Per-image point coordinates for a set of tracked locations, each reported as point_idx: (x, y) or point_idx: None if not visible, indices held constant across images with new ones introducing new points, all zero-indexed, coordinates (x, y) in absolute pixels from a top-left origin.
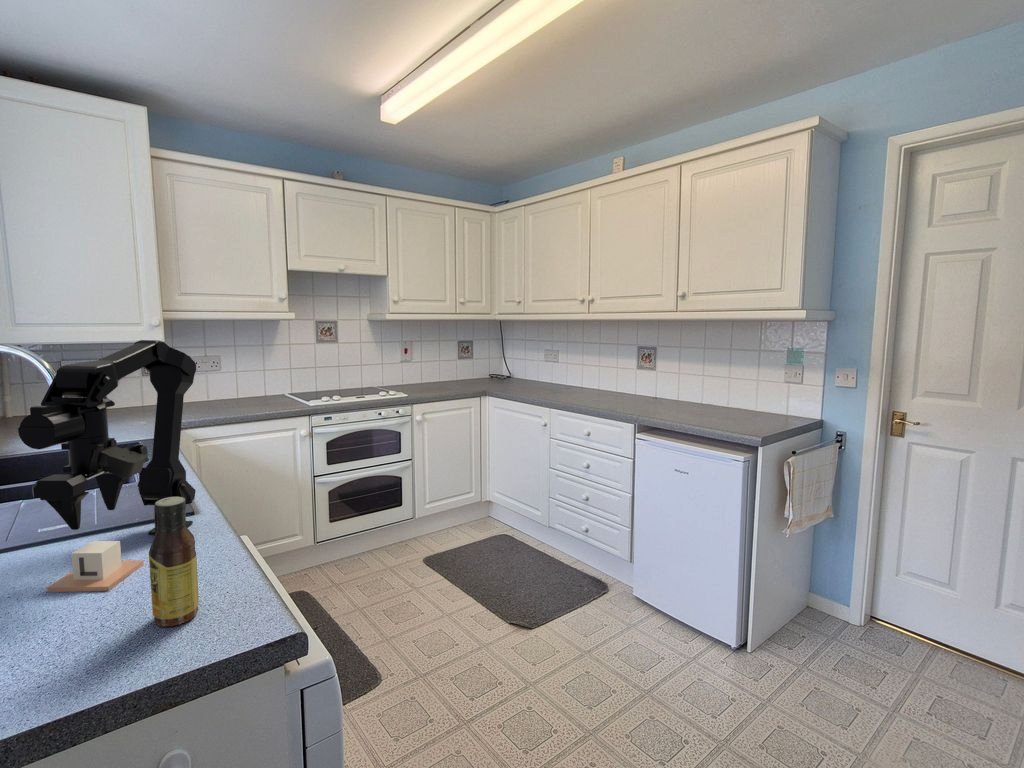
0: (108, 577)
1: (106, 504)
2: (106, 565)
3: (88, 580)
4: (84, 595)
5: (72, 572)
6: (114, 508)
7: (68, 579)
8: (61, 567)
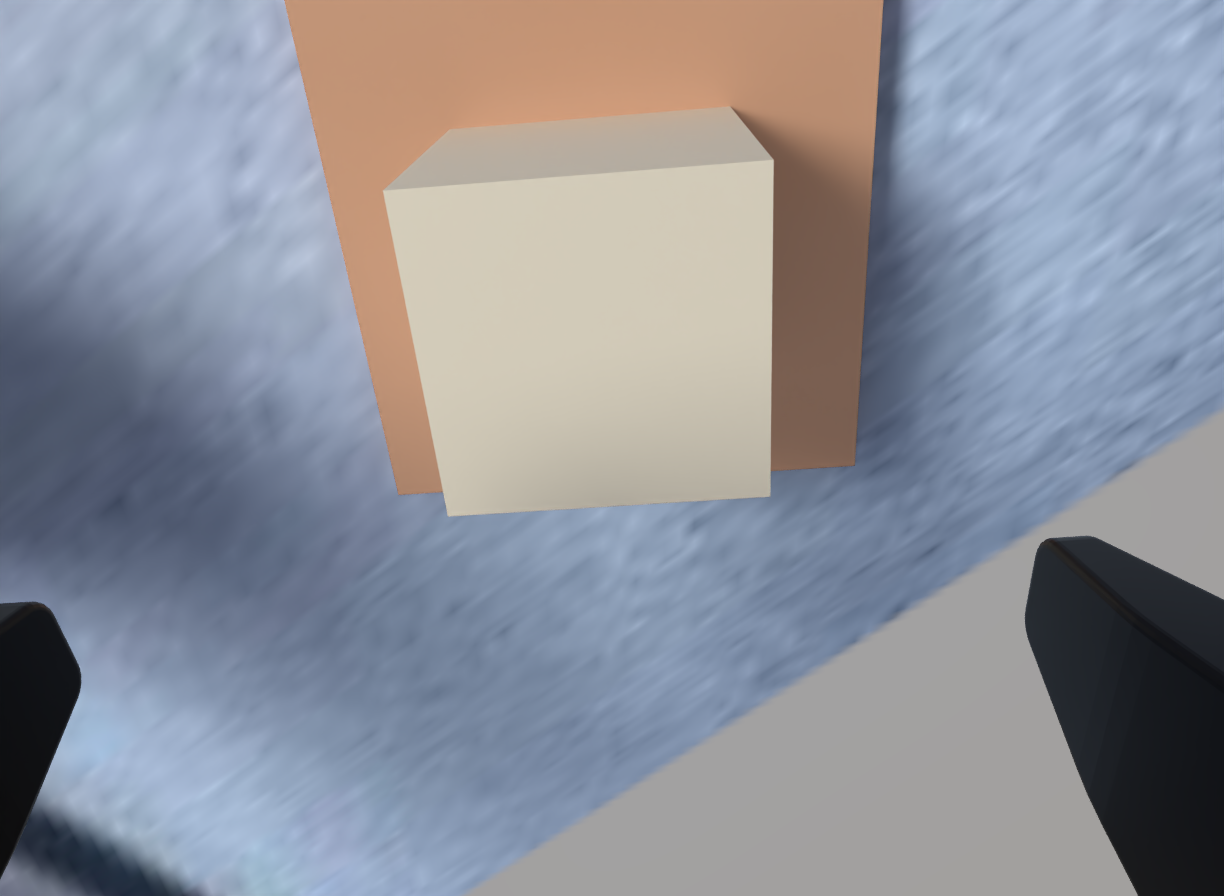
0: (690, 83)
1: (24, 787)
2: (681, 129)
3: None
4: (935, 116)
5: None
6: (5, 607)
7: None
8: (474, 617)
